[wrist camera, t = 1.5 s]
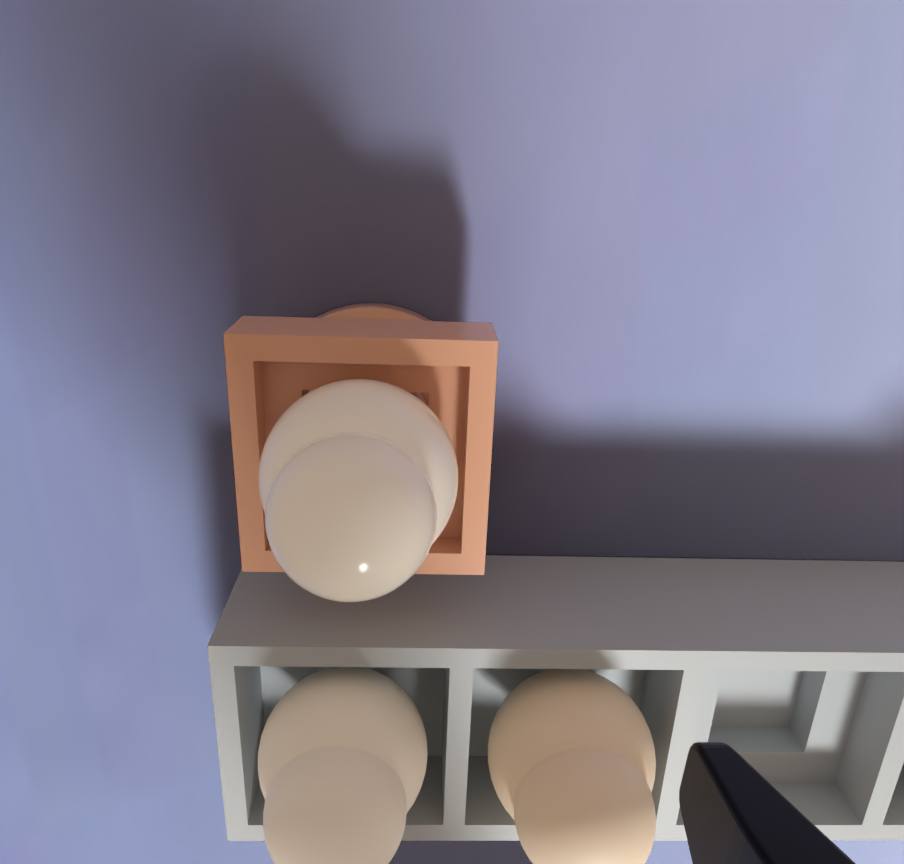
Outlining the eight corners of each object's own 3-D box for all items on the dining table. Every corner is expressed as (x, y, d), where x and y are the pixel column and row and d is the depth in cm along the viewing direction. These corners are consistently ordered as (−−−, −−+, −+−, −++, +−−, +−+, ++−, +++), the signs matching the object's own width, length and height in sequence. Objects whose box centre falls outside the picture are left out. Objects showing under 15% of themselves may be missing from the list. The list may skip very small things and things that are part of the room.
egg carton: (970, 726, 26) (1197, 969, 18) (261, 722, 25) (187, 978, 17) (1031, 563, 23) (1323, 765, 16) (249, 551, 22) (156, 761, 15)
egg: (451, 519, 19) (460, 661, 14) (283, 516, 19) (228, 659, 14) (458, 358, 18) (471, 449, 12) (274, 353, 17) (208, 443, 12)
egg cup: (475, 505, 22) (483, 574, 18) (272, 502, 22) (242, 571, 18) (486, 306, 20) (498, 340, 16) (260, 299, 19) (223, 333, 16)
